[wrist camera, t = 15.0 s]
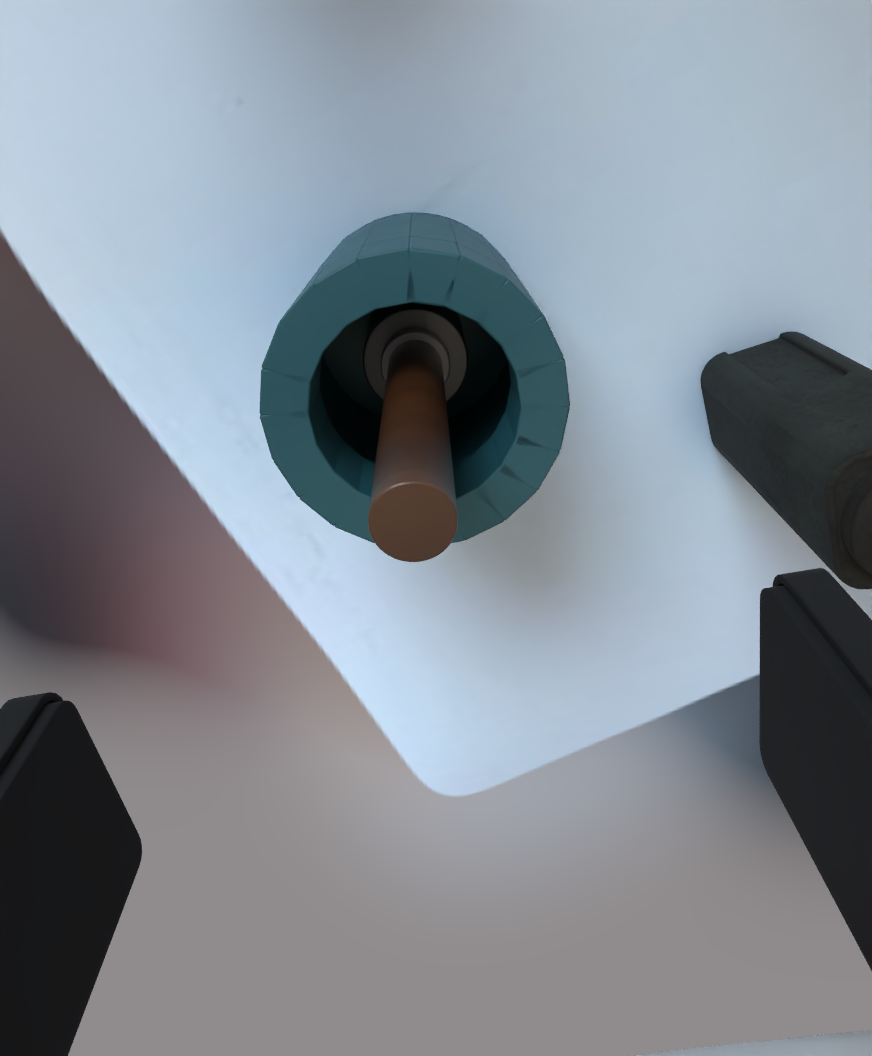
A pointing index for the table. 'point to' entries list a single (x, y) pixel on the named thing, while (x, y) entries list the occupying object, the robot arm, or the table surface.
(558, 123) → the table surface
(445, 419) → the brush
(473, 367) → the teal hollow cylinder
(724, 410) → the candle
